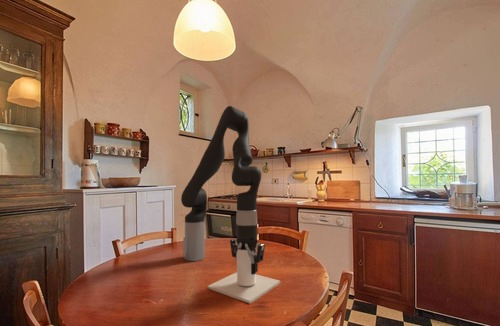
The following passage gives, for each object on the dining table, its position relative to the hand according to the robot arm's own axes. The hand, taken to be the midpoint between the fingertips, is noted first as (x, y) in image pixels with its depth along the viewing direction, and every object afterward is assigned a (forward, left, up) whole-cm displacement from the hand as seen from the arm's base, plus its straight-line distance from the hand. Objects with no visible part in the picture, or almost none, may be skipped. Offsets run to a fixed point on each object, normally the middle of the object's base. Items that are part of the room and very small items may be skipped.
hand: (247, 271), depth 85 cm
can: (0, 0, -4) cm, 4 cm away
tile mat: (-1, 0, -5) cm, 5 cm away
